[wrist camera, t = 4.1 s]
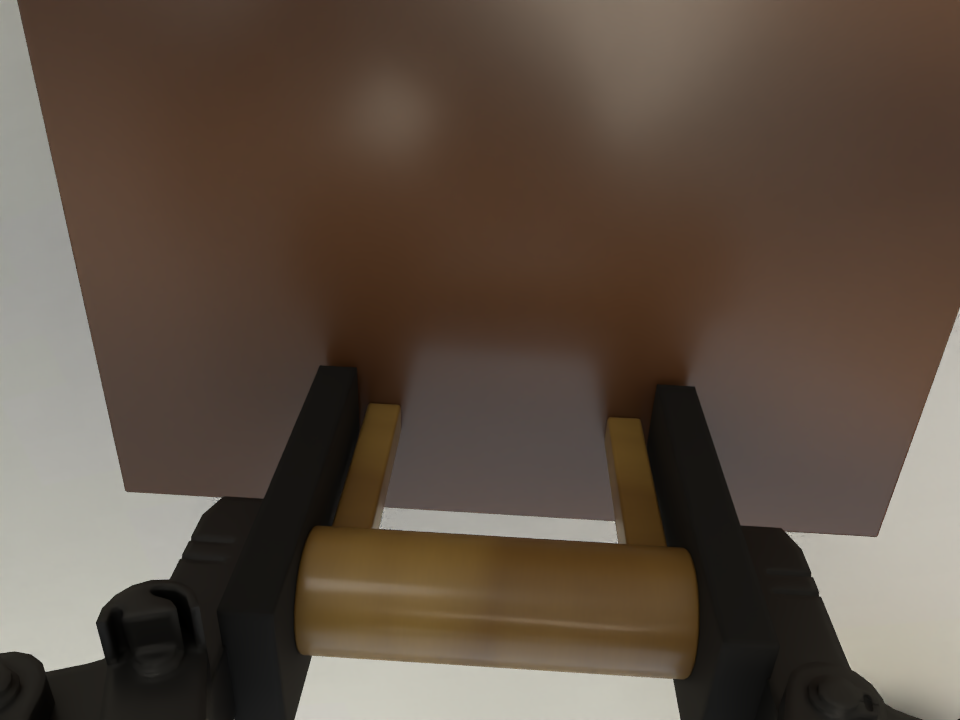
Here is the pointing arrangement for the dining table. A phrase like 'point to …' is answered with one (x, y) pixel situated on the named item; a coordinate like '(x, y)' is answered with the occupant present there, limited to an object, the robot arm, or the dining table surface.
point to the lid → (512, 280)
